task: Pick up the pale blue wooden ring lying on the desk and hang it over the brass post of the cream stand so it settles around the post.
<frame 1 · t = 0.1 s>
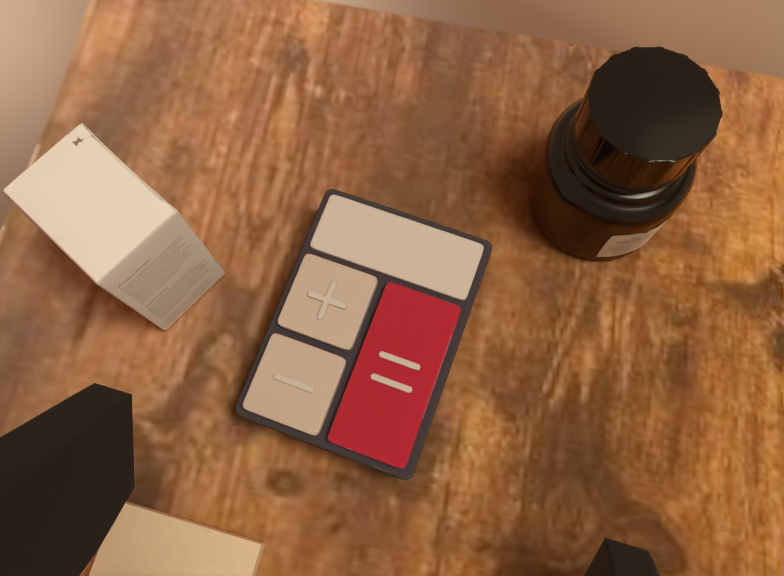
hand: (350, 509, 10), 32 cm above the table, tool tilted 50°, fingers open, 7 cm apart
button keypad: (369, 337, 44), on the table
small box: (158, 266, 46), on the table
ink bottle: (592, 202, 46), on the table
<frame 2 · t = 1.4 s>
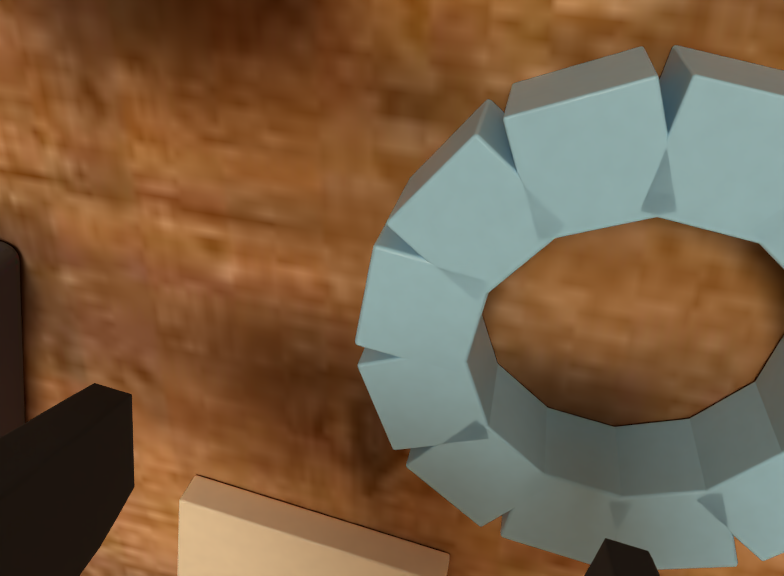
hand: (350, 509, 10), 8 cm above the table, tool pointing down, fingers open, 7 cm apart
ring: (627, 311, 17), on the table
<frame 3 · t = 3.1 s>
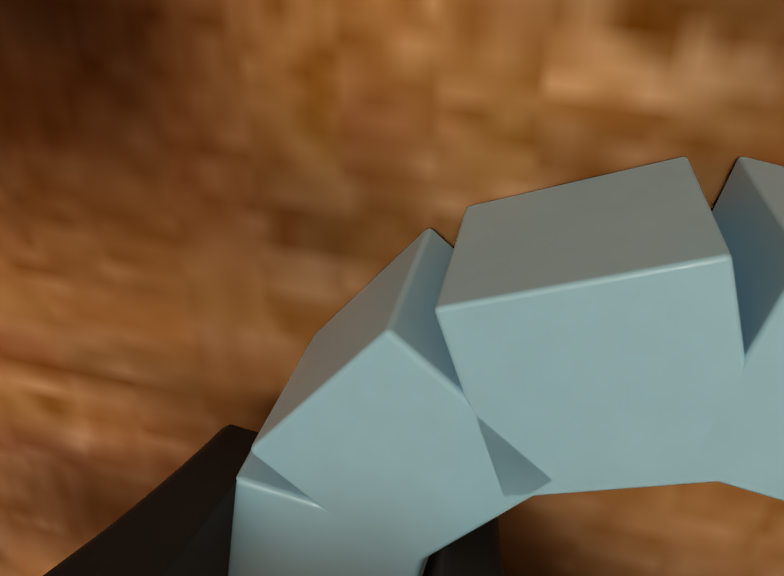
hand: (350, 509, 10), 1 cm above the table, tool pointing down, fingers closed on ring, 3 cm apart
ring: (650, 528, 11), on the table, touching gripper
when the fingers open (3 cm above the table, at t = 8.5 s): ring stays where it is, resting on peg stand.
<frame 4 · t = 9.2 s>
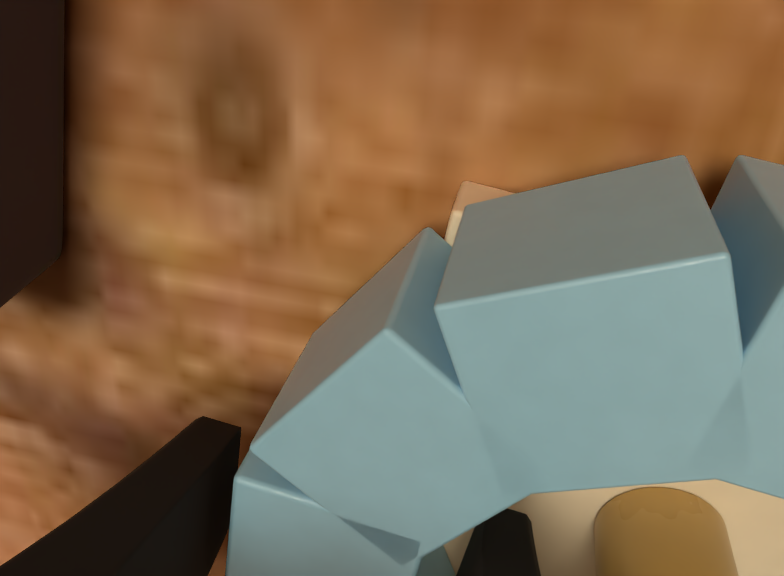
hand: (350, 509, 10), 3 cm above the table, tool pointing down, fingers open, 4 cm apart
ring: (649, 527, 11), point 1 cm above the table, touching peg stand
peg stand: (650, 476, 12), on the table
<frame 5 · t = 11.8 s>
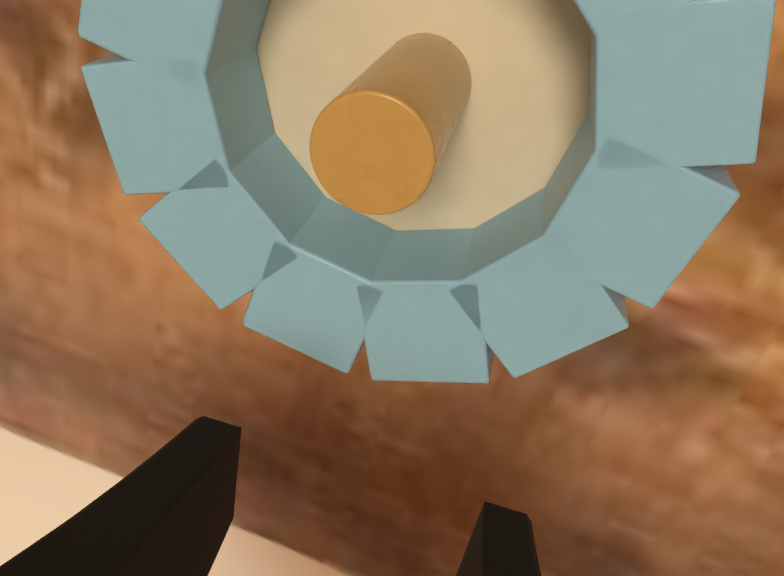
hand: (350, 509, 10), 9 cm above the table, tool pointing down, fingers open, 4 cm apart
ring: (418, 78, 14), point 1 cm above the table, touching peg stand
peg stand: (434, 69, 16), on the table
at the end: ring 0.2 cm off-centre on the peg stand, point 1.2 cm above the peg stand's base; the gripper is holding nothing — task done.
